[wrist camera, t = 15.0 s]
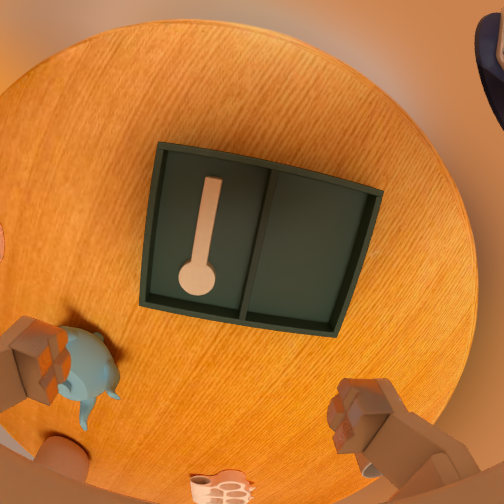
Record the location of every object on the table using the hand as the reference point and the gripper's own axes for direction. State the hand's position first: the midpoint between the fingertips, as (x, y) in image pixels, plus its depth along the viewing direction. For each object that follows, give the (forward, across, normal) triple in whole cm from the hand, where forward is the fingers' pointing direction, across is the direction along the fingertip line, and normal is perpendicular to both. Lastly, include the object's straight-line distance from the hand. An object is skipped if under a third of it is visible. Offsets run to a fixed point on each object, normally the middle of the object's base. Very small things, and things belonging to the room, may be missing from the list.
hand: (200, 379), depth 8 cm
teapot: (+29, +18, +26) cm, 43 cm away
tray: (+29, -4, +4) cm, 30 cm away
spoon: (+28, +2, +4) cm, 29 cm away
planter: (+29, +28, +60) cm, 72 cm away
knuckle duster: (+29, -9, +62) cm, 69 cm away
